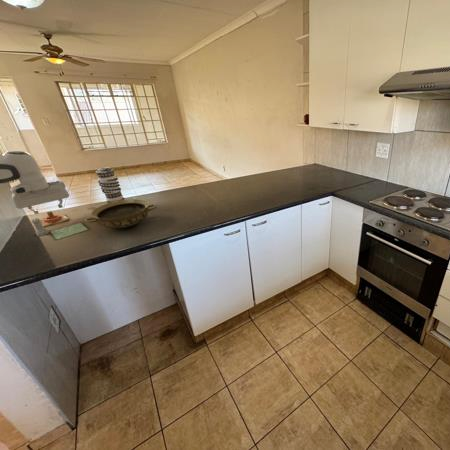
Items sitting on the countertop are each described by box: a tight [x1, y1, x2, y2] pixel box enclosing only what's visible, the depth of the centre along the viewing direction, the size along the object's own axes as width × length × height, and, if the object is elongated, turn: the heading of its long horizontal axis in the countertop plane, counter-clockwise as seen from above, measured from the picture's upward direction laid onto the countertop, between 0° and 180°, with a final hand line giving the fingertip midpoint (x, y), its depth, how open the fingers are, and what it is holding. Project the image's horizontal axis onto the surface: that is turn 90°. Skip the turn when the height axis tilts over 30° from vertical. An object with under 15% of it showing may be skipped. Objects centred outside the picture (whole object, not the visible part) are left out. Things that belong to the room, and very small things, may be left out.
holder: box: [40, 210, 69, 228], centre depth 129 cm, size 10×10×6 cm
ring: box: [42, 214, 62, 223], centre depth 130 cm, size 7×7×1 cm
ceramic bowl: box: [84, 198, 157, 229], centre depth 124 cm, size 30×24×10 cm
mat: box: [50, 222, 89, 240], centre depth 121 cm, size 12×12×1 cm
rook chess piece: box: [30, 217, 50, 237], centre depth 117 cm, size 4×4×8 cm
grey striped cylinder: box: [95, 166, 125, 204], centre depth 138 cm, size 9×9×25 cm
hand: (49, 210), depth 128 cm, fingers open, 8 cm apart
